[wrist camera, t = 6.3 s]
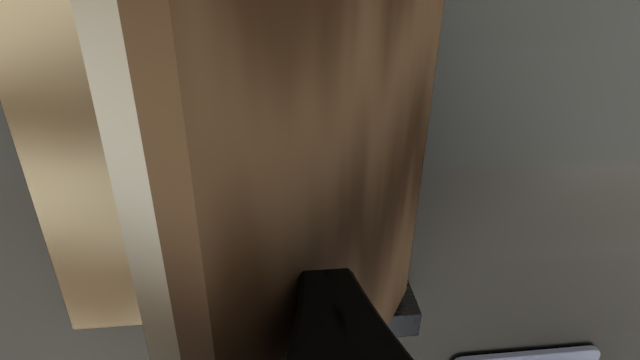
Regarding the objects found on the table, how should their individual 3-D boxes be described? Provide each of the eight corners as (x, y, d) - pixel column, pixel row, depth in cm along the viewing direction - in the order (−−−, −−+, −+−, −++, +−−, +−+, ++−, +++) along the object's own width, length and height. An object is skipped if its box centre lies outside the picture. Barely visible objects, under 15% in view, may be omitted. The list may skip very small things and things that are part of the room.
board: (348, 303, 23) (350, 309, 23) (76, 322, 22) (73, 329, 21) (376, -173, 14) (379, -174, 14) (-83, -187, 13) (-92, -190, 13)
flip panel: (406, 290, 21) (246, 608, 12) (374, 279, 22) (198, 576, 12) (456, -90, 14) (160, -64, 5) (408, -91, 15) (54, -70, 5)
